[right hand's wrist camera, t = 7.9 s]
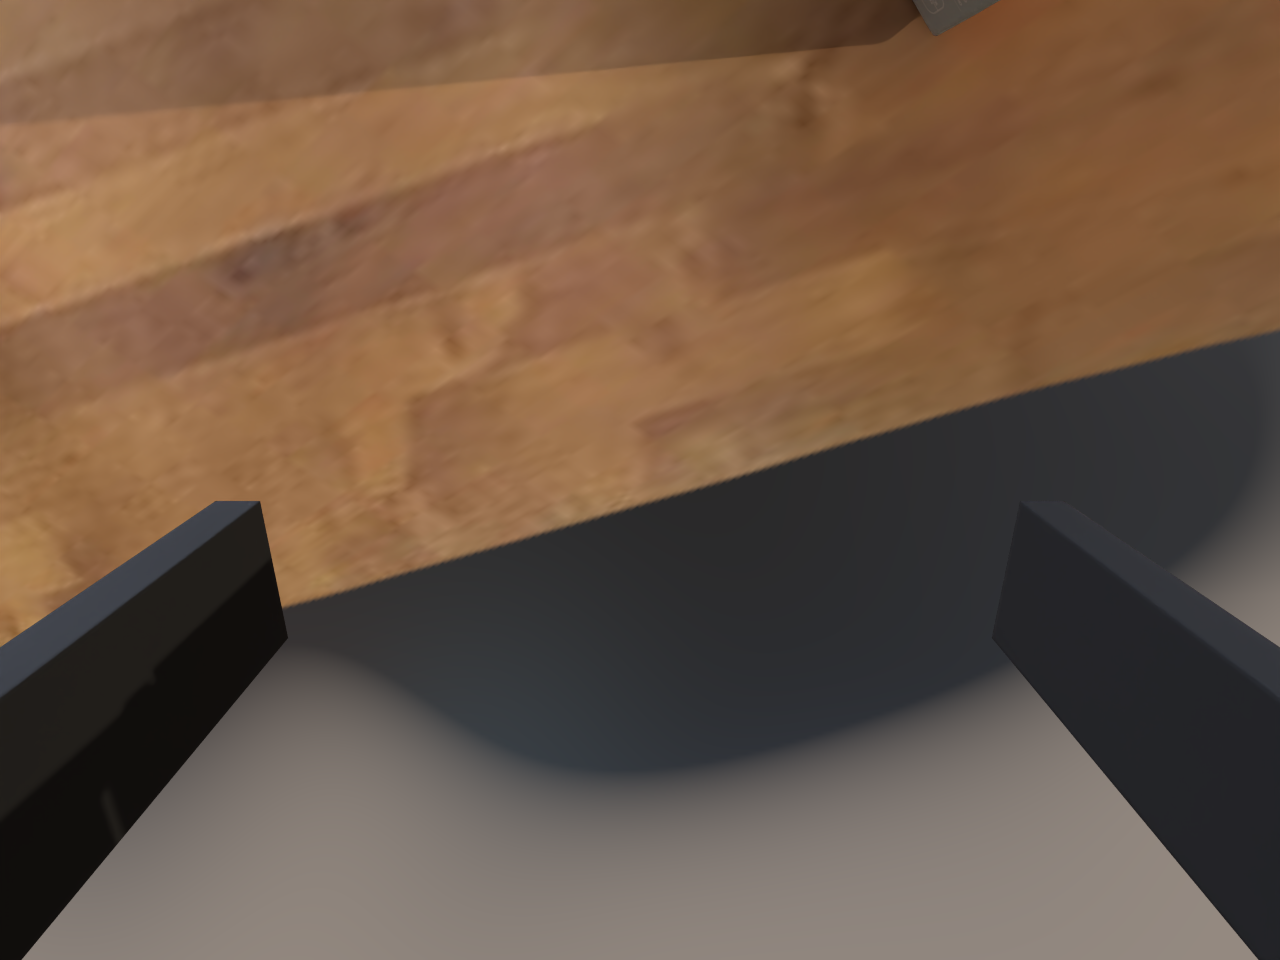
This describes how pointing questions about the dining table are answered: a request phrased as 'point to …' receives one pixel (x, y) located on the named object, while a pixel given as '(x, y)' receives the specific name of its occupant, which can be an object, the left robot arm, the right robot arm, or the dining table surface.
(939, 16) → the hard drive box
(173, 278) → the dining table surface
